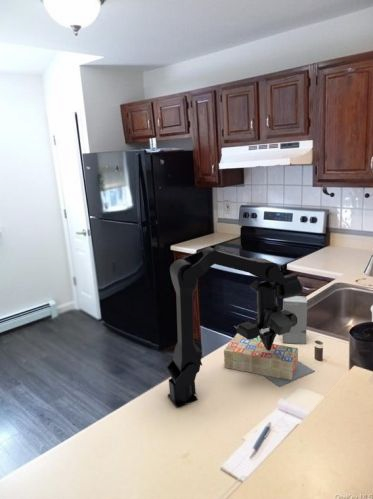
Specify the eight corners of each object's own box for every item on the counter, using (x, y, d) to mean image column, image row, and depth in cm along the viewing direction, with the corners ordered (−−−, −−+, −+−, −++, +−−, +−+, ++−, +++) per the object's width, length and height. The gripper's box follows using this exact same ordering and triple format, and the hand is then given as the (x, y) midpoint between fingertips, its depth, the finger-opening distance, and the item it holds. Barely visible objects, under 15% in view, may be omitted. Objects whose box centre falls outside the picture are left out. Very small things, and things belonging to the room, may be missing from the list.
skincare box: (282, 343, 133) (282, 301, 129) (282, 334, 140) (281, 294, 136) (307, 344, 131) (307, 302, 127) (306, 335, 138) (306, 294, 134)
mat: (279, 386, 108) (279, 385, 108) (245, 363, 122) (245, 362, 122) (314, 371, 114) (314, 370, 114) (279, 350, 128) (279, 349, 128)
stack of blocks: (291, 381, 110) (300, 360, 120) (291, 362, 108) (300, 343, 119) (224, 367, 120) (237, 349, 131) (223, 349, 119) (237, 332, 129)
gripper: (259, 318, 99) (260, 371, 102) (311, 302, 107) (311, 351, 110) (234, 306, 108) (237, 354, 112) (284, 291, 117) (284, 337, 120)
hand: (268, 349), depth 113 cm, fingers closed
